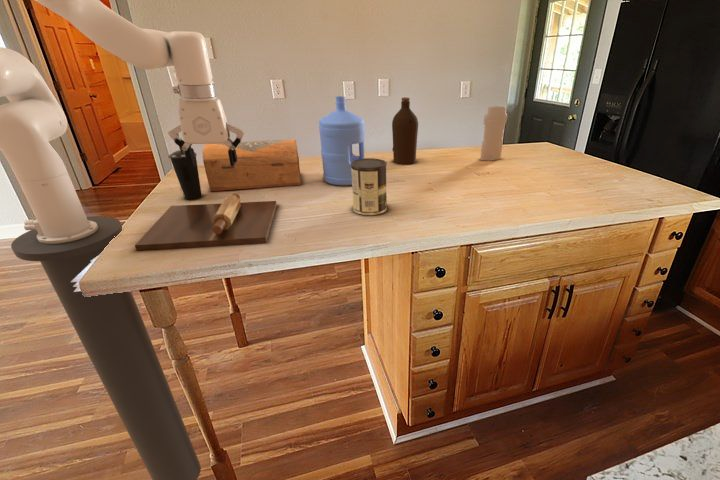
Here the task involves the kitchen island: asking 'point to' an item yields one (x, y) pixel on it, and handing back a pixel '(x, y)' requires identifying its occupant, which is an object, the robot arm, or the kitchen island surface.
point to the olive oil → (404, 134)
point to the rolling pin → (226, 213)
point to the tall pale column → (493, 133)
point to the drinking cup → (186, 175)
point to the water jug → (340, 143)
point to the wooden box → (252, 165)
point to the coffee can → (369, 186)
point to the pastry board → (208, 227)
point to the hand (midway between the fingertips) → (213, 165)
